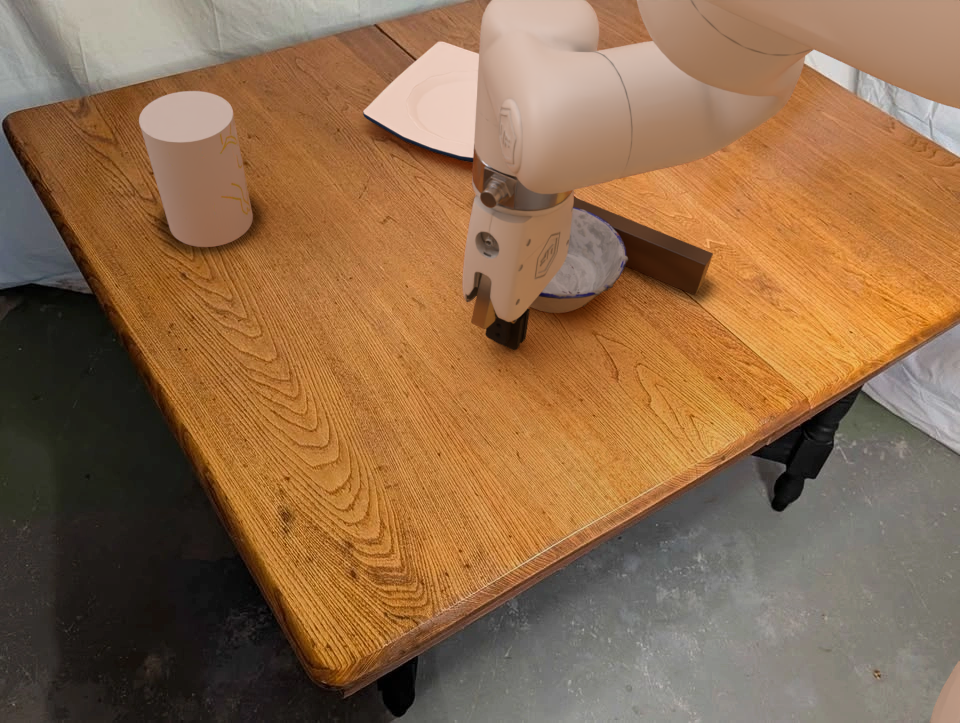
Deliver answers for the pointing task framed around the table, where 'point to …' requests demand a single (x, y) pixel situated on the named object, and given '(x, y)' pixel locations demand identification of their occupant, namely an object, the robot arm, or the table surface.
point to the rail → (657, 251)
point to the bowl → (584, 265)
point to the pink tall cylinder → (197, 167)
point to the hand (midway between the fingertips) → (505, 338)
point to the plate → (433, 102)
